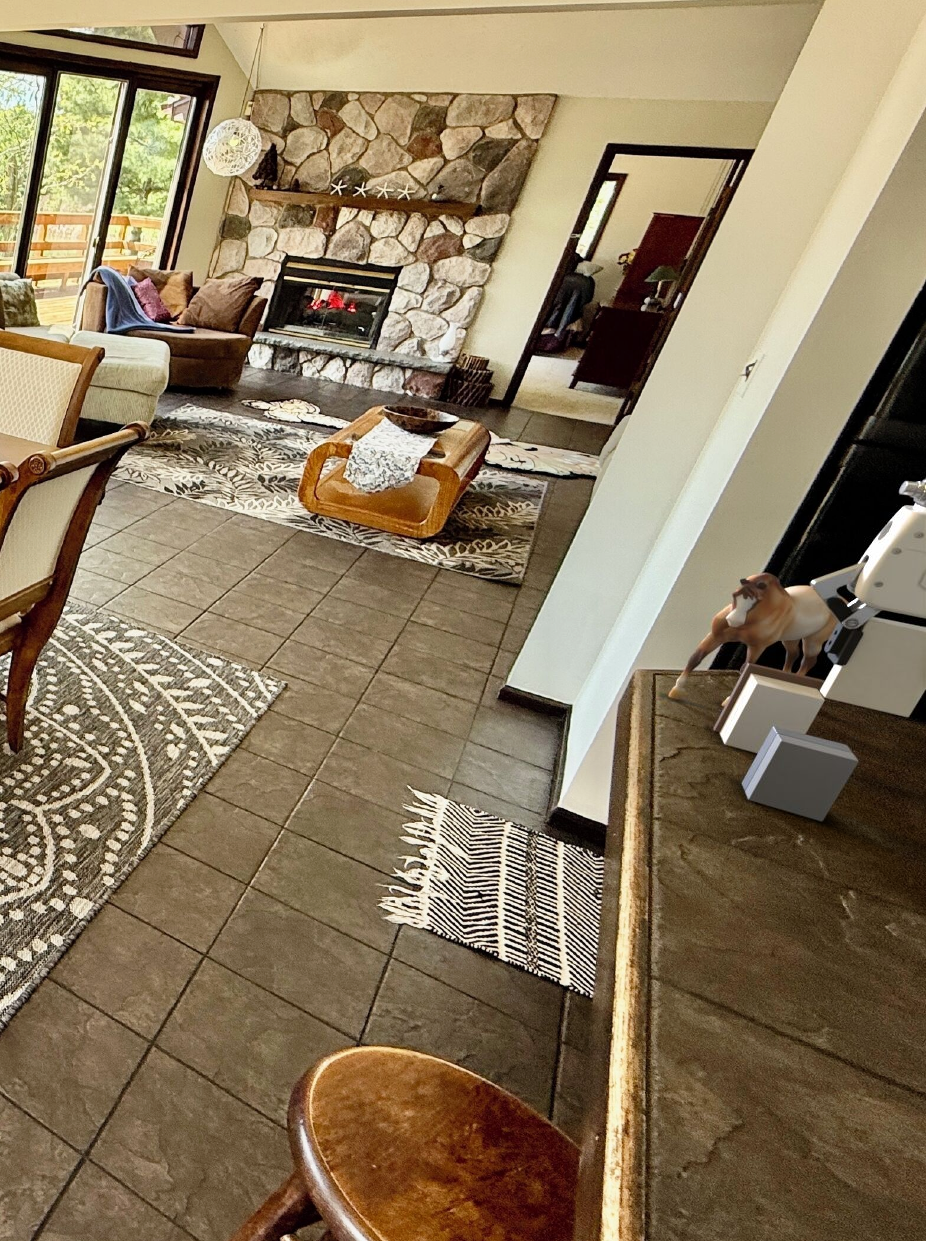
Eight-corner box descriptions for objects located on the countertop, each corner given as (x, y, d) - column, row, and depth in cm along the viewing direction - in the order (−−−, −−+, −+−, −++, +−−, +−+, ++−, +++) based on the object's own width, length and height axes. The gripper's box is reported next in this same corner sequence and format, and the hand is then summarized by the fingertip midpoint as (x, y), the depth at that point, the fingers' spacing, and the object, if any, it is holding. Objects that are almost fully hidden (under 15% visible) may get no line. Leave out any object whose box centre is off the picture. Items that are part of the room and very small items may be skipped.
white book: (901, 710, 91) (949, 631, 88) (908, 717, 90) (957, 638, 86) (819, 691, 94) (862, 614, 91) (824, 697, 93) (868, 620, 90)
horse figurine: (690, 718, 120) (761, 579, 113) (631, 691, 127) (694, 558, 120) (863, 710, 126) (942, 577, 118) (797, 684, 133) (868, 557, 125)
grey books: (812, 804, 102) (847, 745, 99) (822, 821, 99) (859, 761, 96) (741, 783, 105) (772, 725, 102) (748, 800, 102) (781, 740, 99)
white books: (786, 748, 114) (824, 680, 110) (795, 764, 111) (835, 694, 107) (712, 728, 118) (747, 662, 114) (719, 743, 114) (755, 675, 111)
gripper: (861, 492, 86) (773, 657, 92) (1150, 534, 76) (1029, 714, 83) (838, 478, 91) (757, 635, 98) (1105, 516, 82) (995, 686, 89)
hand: (882, 670), depth 91 cm, fingers closed on white book, 6 cm apart
